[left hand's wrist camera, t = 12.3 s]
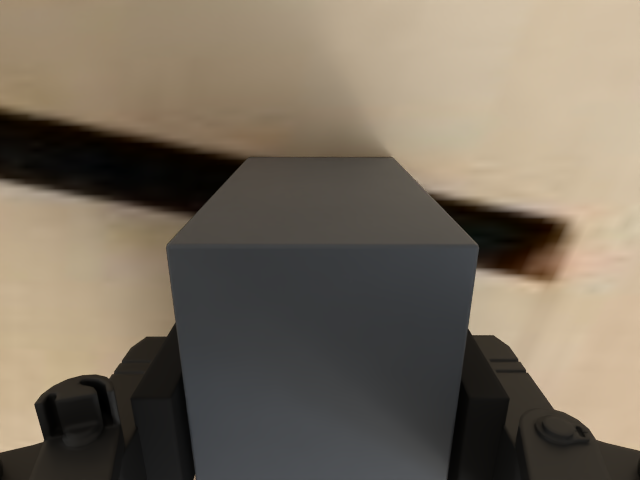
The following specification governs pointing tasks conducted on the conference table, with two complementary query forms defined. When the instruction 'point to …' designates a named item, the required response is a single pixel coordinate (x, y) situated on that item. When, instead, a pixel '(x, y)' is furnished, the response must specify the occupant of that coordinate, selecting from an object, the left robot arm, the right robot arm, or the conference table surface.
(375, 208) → the post
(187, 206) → the conference table surface
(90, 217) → the conference table surface
